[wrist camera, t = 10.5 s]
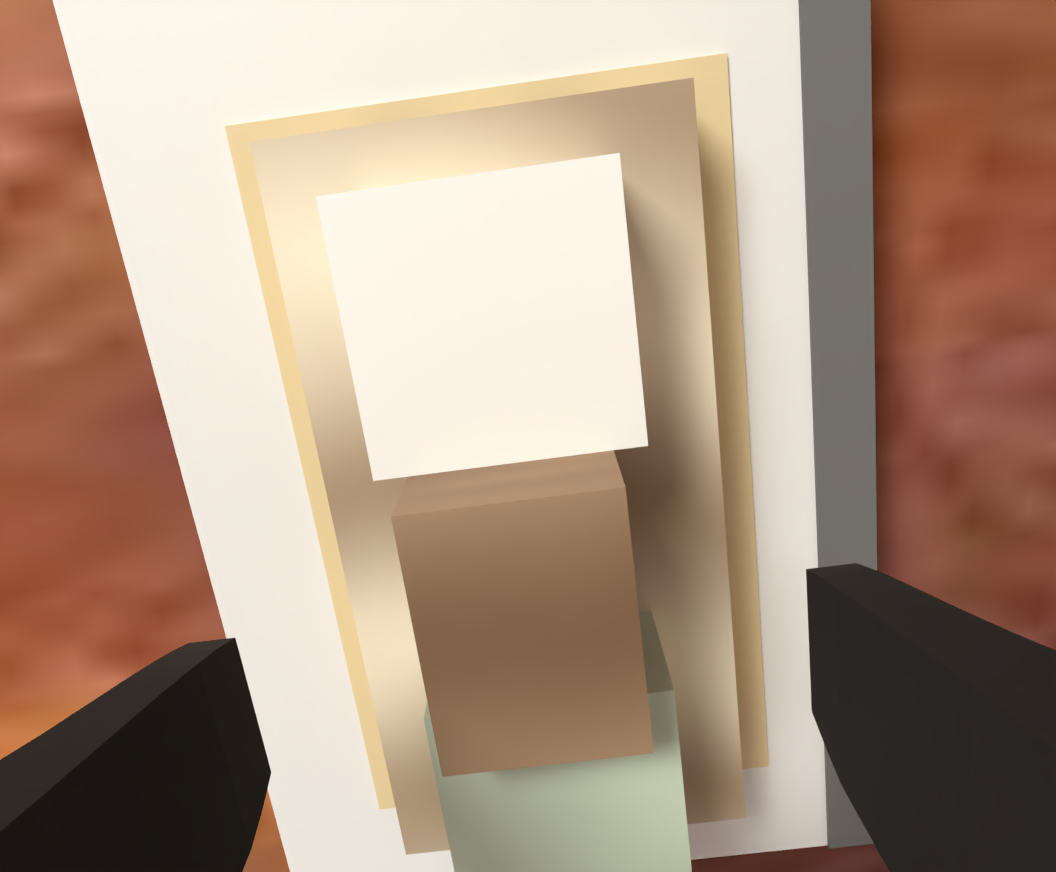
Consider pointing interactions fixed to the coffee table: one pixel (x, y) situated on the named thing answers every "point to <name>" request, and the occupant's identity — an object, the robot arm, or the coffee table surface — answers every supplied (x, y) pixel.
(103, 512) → the coffee table surface
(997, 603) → the coffee table surface
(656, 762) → the block
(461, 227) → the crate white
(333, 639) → the dock
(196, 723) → the robot arm
